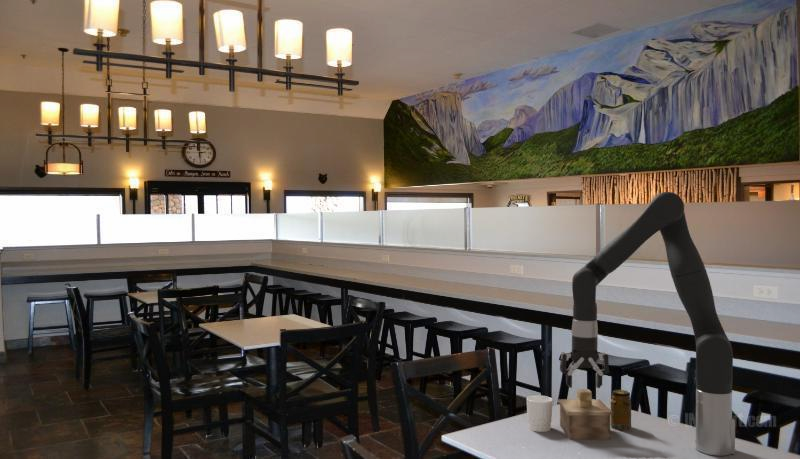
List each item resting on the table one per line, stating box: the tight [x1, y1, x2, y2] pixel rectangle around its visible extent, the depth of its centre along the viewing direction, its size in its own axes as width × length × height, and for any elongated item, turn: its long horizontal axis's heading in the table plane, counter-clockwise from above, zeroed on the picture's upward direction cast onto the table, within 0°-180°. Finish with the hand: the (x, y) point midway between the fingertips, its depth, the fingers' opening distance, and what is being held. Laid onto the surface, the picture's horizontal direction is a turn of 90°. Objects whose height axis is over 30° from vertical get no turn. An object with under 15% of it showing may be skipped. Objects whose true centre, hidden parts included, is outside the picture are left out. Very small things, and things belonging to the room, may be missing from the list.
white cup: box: [526, 394, 553, 433], centre depth 202 cm, size 8×8×10 cm
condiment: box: [610, 389, 632, 431], centre depth 202 cm, size 7×8×12 cm
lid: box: [557, 388, 612, 416], centre depth 198 cm, size 13×13×6 cm
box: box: [559, 405, 611, 440], centre depth 198 cm, size 12×12×8 cm
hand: (584, 387), depth 198 cm, fingers open, 8 cm apart
